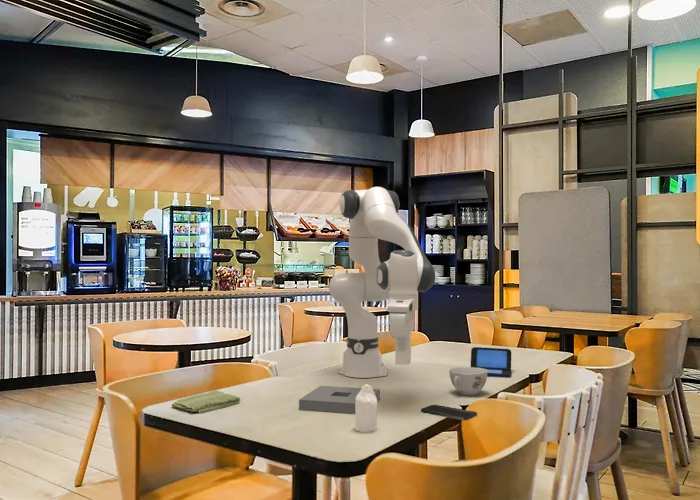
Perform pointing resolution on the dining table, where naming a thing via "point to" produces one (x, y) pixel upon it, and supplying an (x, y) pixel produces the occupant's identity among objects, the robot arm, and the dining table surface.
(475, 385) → the teacup
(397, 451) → the dining table surface
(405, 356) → the charger plug
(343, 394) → the grey socket board
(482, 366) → the handheld game console
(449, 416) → the phone
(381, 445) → the dining table surface
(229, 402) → the washcloth
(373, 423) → the white bottle
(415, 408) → the dining table surface
